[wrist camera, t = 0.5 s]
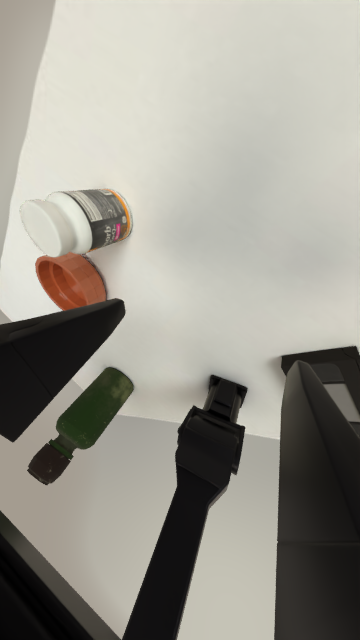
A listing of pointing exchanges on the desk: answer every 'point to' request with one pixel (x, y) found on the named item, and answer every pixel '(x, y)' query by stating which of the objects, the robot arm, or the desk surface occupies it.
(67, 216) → the pill bottle
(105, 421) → the green bottle
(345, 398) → the vhs tape
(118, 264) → the desk surface
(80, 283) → the bowl
